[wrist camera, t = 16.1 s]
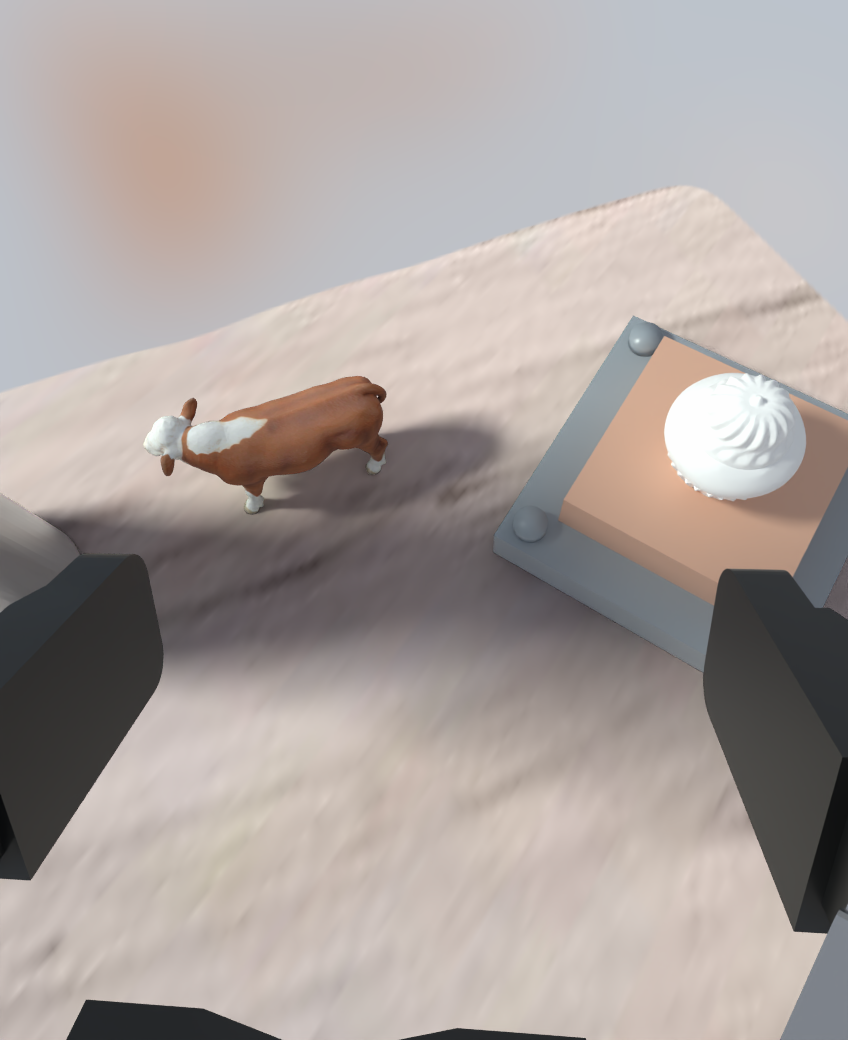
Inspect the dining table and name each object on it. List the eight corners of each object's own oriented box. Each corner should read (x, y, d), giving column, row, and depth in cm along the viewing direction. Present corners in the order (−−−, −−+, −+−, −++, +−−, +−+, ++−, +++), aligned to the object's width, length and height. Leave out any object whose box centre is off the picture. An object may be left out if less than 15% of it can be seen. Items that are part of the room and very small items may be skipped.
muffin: (746, 546, 36) (805, 491, 29) (628, 489, 37) (659, 424, 30) (795, 443, 37) (862, 369, 31) (680, 392, 39) (720, 311, 32)
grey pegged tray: (493, 552, 43) (494, 515, 37) (624, 344, 47) (643, 282, 41) (758, 704, 39) (804, 689, 33) (876, 462, 43) (935, 413, 37)
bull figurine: (181, 468, 46) (121, 404, 39) (392, 416, 46) (373, 343, 39) (190, 532, 45) (129, 479, 37) (407, 479, 45) (391, 415, 37)
